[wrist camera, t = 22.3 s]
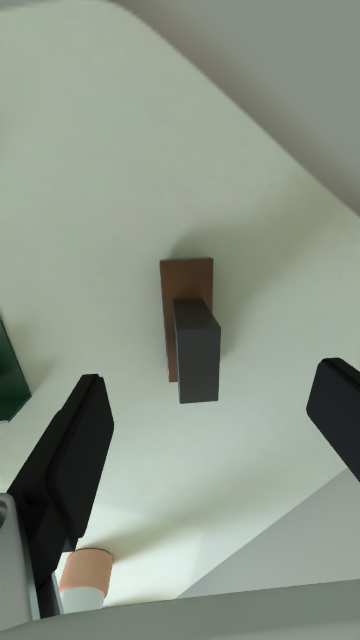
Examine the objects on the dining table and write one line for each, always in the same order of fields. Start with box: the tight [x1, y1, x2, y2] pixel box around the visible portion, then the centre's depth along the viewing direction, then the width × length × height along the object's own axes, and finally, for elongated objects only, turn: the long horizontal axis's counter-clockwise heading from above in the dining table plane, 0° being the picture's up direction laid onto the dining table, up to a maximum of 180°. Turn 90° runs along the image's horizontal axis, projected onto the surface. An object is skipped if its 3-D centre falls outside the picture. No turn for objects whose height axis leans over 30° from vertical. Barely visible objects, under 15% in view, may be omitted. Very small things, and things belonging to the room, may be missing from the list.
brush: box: [160, 257, 221, 404], centre depth 15 cm, size 11×4×7 cm, turn 2°
